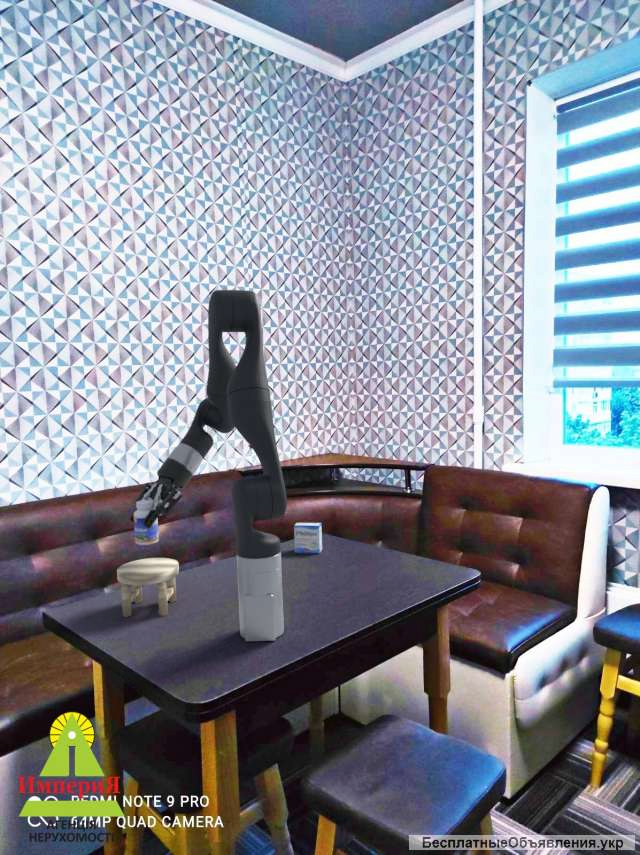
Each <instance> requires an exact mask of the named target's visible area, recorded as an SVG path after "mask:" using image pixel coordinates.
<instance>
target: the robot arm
mask: <svg viewBox="0 0 640 855" xmlns="http://www.w3.org/2000/svg"><path fill="white" fill-rule="evenodd" d="M207 312H208V313H207V317H208V318H207V322H208V323H207V326H208V328H207V330H208V331H207V334H208V335H207V336H208V339H207V340H208V342H207V344H208V345H207V346H208V373H207V374H208V375H207V380H206V382H207V383H206V390H205V392H206V396H207V397H206V398H204V399H203V400H201V402H200V403H199V404H198V406H197V409H196V411H195V414H194V417H193V419H192V422H191V425H190V426H189V429H188V431H187V432H186V434H185V435H184V436H183V438H182V439H181V440H180V442H179V443H178V444H177V445H176V447H175V448H174V449H173V450H172V451H171V452H170V453H169V455H168V456H167V458H166V459H165V461H164V462H163V463H162V465H161V466H160V467H159V469H158V470H157V472H156V475H157V477H158V478H157V480H156V481H155V482H153V483H152V484H151V483H149V482H146V483H145V484H144V486H143V488H142V489H141V491H140V493H139V495H138V496H137V497H136V500H135V502H134V503H135V504H136V502H137V501H141V500H153V501H154V506H153V508H152V510H153V511H152V510H150V512H149V513H148V515H147V516H146V517H145V519H144V520H143V522H142V524H143V525H144V526H145V527H146V528H150V527H151V526H152V525H153V523H154V522H155V520H156V519H157V518H158V519H159V516H162V515H168V514H169V512H170V511H171V510H172V509H173V508H174V507H175V505H176V504H177V503H178V502H179V501H180V500H181V499H182V497H183V496H184V494H183V493H181V491H183V490H184V489H185V487H186V486H187V484H189V482H190V480H191V479H192V477H193V476H194V474H195V473H196V472H197V470H198V469H199V467H200V466H201V463H202V462H203V460H204V459H205V457H206V456H207V454H208V453H209V452H210V450H211V449H212V447H213V445H214V443H215V442H214V438H213V437H212V435H210V433H208V432H207V431H206V430H205V429H204V427H205V426H207V427H209V428H211V429H213V430H215V431H216V432H218V433H221V434H229V433H230V432H232V431H233V430H234V429H236V430H237V431H238V433H239V434H240V435H241V436H242V438H243V439H244V440H245V441H246V442H247V443H248V445H250V446H249V447H251V448H252V449H253V452H254V453H255V455H256V456H257V458H258V460H259V463H260V466H261V469H262V471H263V475H255V476H246V477H245V476H243V477H237V478H236V479H235V480H234V481H233V484H232V488H231V501H232V514H233V521H234V536H235V545H236V546H235V548H236V549H235V550H236V569H237V570H236V571H237V572H236V573H237V592H238V594H237V595H238V614H239V634H240V637H241V638H243V639H244V641H245V642H264V641H265V642H267V641H269V642H270V641H271V642H272V641H276V640H277V638H278V637H280V636H281V635H282V634H284V631H285V624H284V620H285V618H284V602H283V601H284V600H283V599H284V598H283V597H284V596H283V576H282V574H283V573H282V549H281V548H282V545H281V543H282V542H281V540H280V538H279V537H278V536H277V535H275V534H272V533H267V532H263V531H260V530H258V529H255V528H254V526H253V522H258V521H260V522H261V521H266V520H277V519H280V518H283V517H284V516H285V515H286V512H287V508H288V505H287V504H288V499H287V491H286V485H285V481H284V476H283V470H282V467H281V466H282V465H281V461H280V457H279V452H278V446H277V441H276V440H277V439H276V433H275V426H274V419H273V418H274V417H273V406H272V401H271V400H272V399H271V393H270V386H269V380H268V374H267V369H266V362H265V361H266V360H265V354H264V352H265V351H264V343H263V326H262V325H263V324H262V314H261V313H262V312H261V304H260V301H259V297H258V295H257V294H256V292H255V291H253V290H242V289H241V290H240V289H239V290H238V289H216V290H214V291H213V292H212V293H211V294H210V297H209V301H208V311H207ZM223 333H244V335H245V346H244V349H243V352H242V355H241V357H240V359H239V360H238V363H237V364H236V362H235V361H234V358H233V357H232V356H231V354H230V352H229V351H228V349H227V347H226V345H225V342H224V339H223V338H224V337H223ZM135 511H137V508H135V509H134V511H133V513H132V514H131V515H130V517H128V518H129V521H130V522H131V523H132V524H134V512H135Z"/></svg>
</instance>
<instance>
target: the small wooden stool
mask: <svg viewBox="0 0 640 855" xmlns="http://www.w3.org/2000/svg"><path fill="white" fill-rule="evenodd" d="M179 565H180V563H179V561H178V560H177V559H174V558H169V557H168V558H167V557H148V558H141V559H137V560H132V561H130V562H129V561H128V562H126V563H124V564H121V565H119V566H118V568H117V569H116V576H117V577H116V579H117V582H119V583H120V594H121V597H120V598H121V608H122V609H121V612H122V617H123V616H124V617H123V618H129V617H131V616H132V615H133V612H132V603H134V602H135V603H134V604H140V603H139V602H141V601H142V602H143V593H142V592H143V590H142V586H147V585H154V584H156V585H157V596H158V598H157V600H158V615H159V617H160V616H161V617H163V616H164V617H165V616H167V615H169V606H168V605H169V604H168V601H169V603H174V601H175V602H177V584H176V580H177V579H176V577H177V576H178V575H179V573H180V567H179ZM131 586H132V590H131ZM142 602H141V603H142ZM128 616H129V617H128Z"/></svg>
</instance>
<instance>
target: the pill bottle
mask: <svg viewBox="0 0 640 855" xmlns="http://www.w3.org/2000/svg"><path fill="white" fill-rule="evenodd" d="M135 505H136V506H135V507H136V508H137V511H135V510H134V511H135V512H134V511H133V512H134V523H133V528H134V542H135V544H136V545H141V546H147V545H153V544H155V543H158V542H159V540H160V539H159V537H160V536H159V535H160V534H159V521H158V520H159V517H158V518H157V519H156V520H155V522H154V523H153V525H152V526H151V527H150V528H146V527H145V526H144V525H143V524H142V522H143V520H144V519H145V517H146V516H147V515H148V513H149V512H150V510H152V508H153V506H154V501H153V499H152V500H142V499H141V501H137V502H136V503H135ZM136 508H135V509H136ZM152 511H153V510H152Z"/></svg>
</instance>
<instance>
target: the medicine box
mask: <svg viewBox="0 0 640 855" xmlns="http://www.w3.org/2000/svg"><path fill="white" fill-rule="evenodd" d="M293 530H294V531H293V532H294V533H293V534H294V535H293V536H294V537H293V538H294V553H295V554H321V552H322V550H323V534H322V533H323V532H322V531H323V530H322V522H296V523H295V524H294V526H293Z"/></svg>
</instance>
